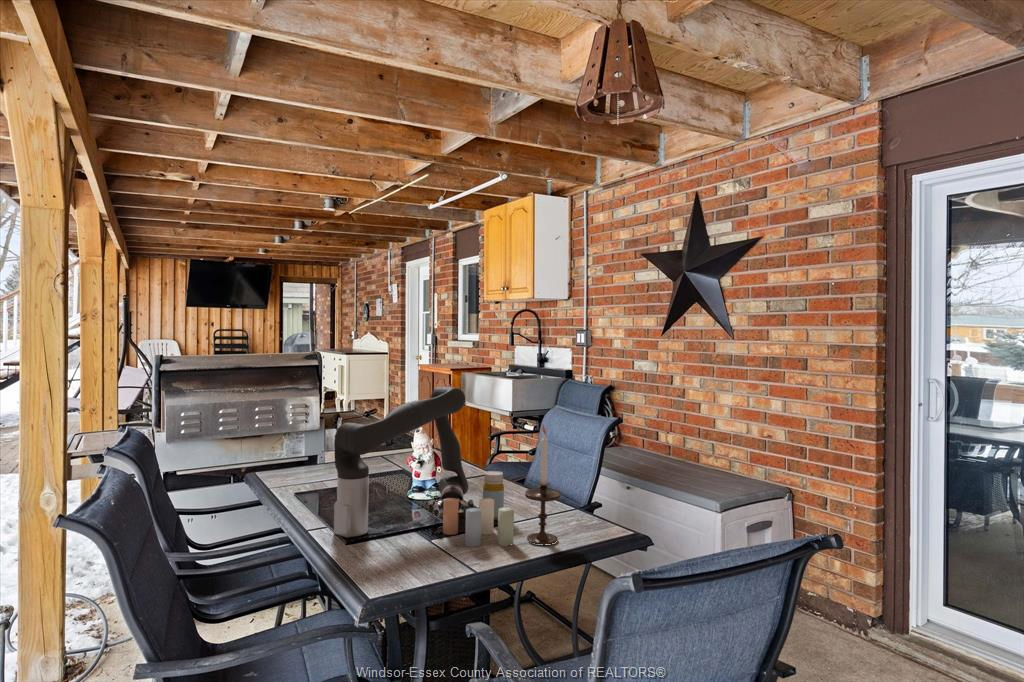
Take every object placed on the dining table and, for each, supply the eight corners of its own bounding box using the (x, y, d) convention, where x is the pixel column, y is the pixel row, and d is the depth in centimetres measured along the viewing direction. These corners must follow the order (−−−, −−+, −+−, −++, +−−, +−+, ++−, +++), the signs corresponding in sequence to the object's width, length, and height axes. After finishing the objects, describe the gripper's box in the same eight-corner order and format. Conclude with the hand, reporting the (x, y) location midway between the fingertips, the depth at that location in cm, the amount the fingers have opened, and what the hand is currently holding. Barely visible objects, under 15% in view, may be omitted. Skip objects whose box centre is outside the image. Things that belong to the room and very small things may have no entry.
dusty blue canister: (474, 548, 177) (474, 513, 176) (461, 544, 179) (462, 510, 179) (484, 543, 180) (484, 509, 180) (472, 540, 183) (472, 507, 183)
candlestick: (530, 548, 177) (533, 427, 177) (519, 536, 188) (522, 421, 187) (565, 545, 180) (568, 426, 180) (553, 533, 191) (555, 420, 190)
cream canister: (487, 535, 187) (487, 503, 187) (475, 532, 190) (476, 500, 190) (496, 532, 191) (497, 500, 191) (484, 528, 194) (485, 497, 194)
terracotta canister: (450, 535, 187) (451, 503, 186) (439, 532, 189) (440, 500, 189) (460, 532, 190) (461, 499, 190) (449, 528, 193) (450, 497, 193)
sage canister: (507, 547, 178) (507, 513, 178) (494, 544, 180) (495, 510, 180) (516, 543, 181) (517, 509, 181) (503, 539, 184) (504, 506, 184)
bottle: (485, 521, 201) (486, 475, 201) (480, 515, 208) (481, 471, 207) (505, 520, 203) (506, 475, 203) (500, 514, 210) (501, 470, 209)
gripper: (430, 487, 205) (427, 500, 189) (473, 487, 206) (474, 500, 190) (430, 509, 205) (427, 525, 189) (473, 509, 206) (473, 525, 190)
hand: (450, 512), depth 190 cm, fingers open, 8 cm apart
